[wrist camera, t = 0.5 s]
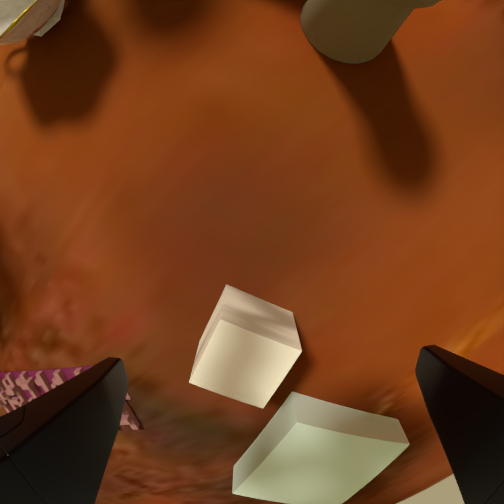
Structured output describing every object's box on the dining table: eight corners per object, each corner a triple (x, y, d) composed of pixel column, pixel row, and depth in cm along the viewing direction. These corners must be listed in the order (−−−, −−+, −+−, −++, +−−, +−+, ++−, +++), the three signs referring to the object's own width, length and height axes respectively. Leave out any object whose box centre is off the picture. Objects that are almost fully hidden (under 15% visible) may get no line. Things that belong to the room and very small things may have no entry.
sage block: (396, 416, 26) (409, 444, 23) (330, 481, 30) (335, 508, 26) (291, 388, 25) (296, 422, 21) (233, 463, 28) (232, 493, 24)
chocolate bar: (147, 419, 26) (142, 434, 25) (20, 417, 28) (13, 427, 26) (113, 359, 24) (105, 373, 23) (-11, 370, 26) (-20, 379, 24)
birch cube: (292, 311, 23) (302, 351, 18) (261, 364, 24) (263, 408, 19) (226, 284, 22) (220, 319, 17) (199, 340, 23) (189, 382, 18)
